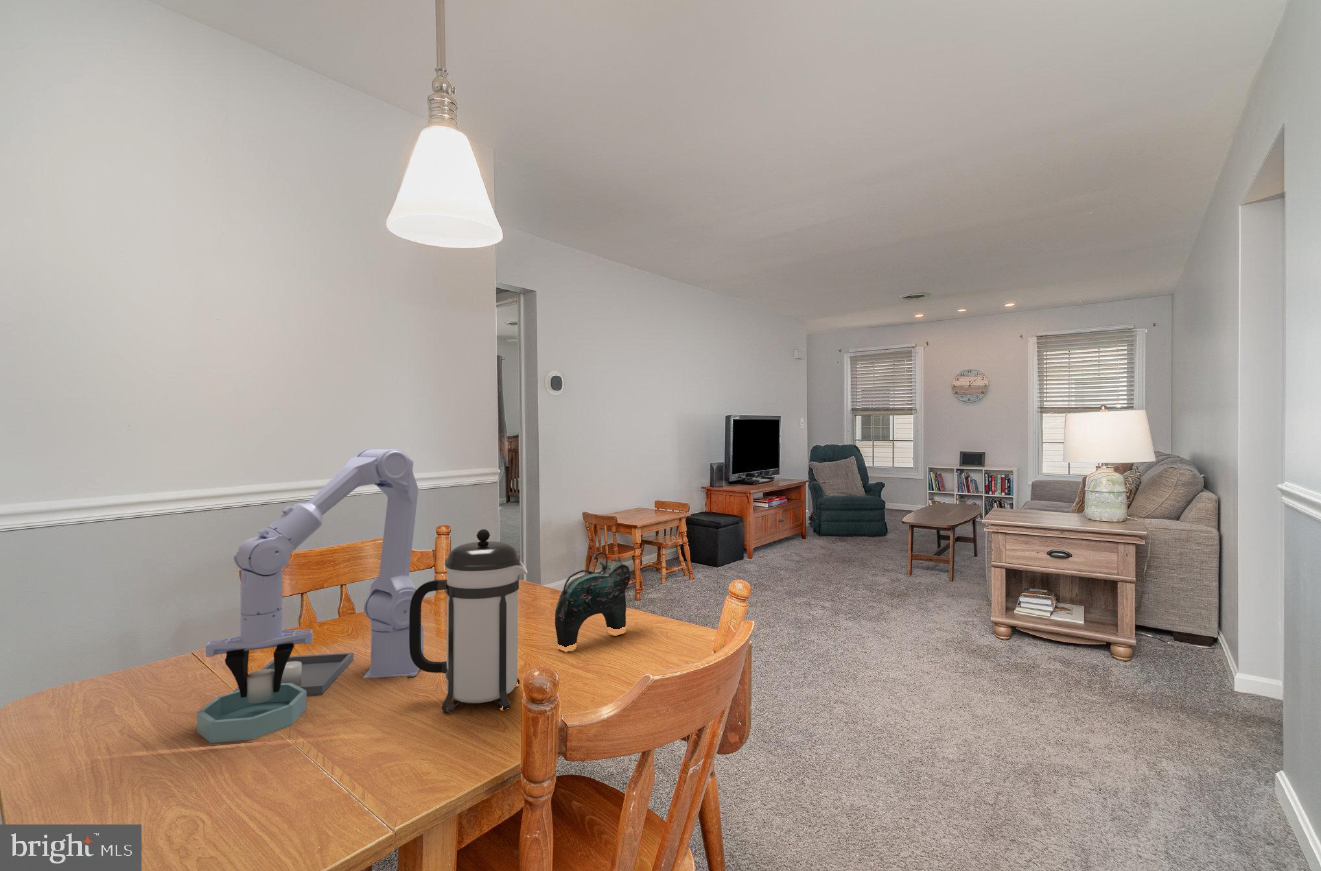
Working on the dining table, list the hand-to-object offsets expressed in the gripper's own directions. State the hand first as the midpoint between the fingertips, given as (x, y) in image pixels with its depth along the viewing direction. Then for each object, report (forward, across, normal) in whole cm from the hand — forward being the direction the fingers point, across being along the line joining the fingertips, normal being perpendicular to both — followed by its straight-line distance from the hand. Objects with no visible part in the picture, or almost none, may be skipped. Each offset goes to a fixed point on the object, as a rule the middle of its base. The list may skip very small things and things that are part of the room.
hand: (261, 692), depth 97 cm
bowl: (+4, +1, +2) cm, 5 cm away
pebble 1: (+1, 0, 0) cm, 1 cm away
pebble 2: (+3, -3, -10) cm, 11 cm away
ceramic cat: (+4, -62, -10) cm, 63 cm away
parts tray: (+4, -4, -14) cm, 15 cm away
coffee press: (+4, -33, +9) cm, 34 cm away
